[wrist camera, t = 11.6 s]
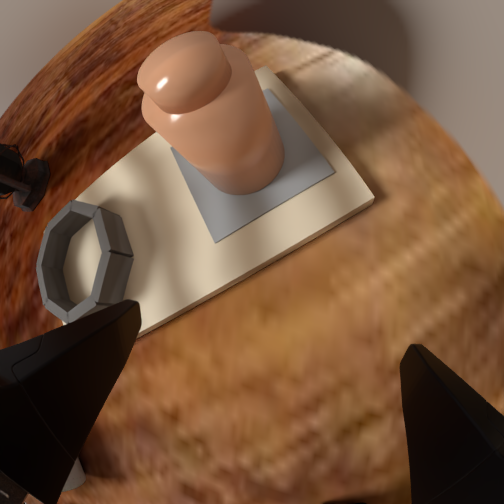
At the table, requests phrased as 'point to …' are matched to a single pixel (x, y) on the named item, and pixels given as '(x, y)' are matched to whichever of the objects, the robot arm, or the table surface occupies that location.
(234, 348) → the table surface
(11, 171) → the lantern
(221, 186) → the peach jug
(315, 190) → the board
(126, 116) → the table surface
